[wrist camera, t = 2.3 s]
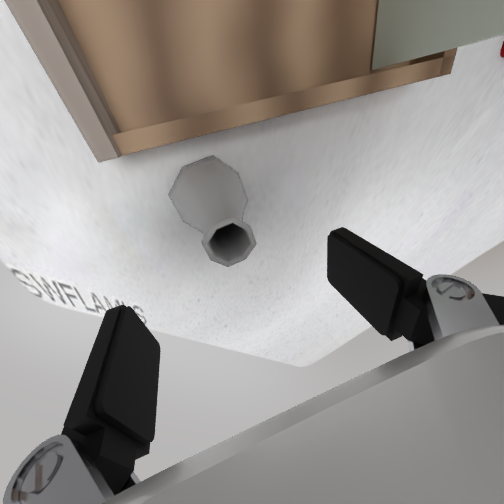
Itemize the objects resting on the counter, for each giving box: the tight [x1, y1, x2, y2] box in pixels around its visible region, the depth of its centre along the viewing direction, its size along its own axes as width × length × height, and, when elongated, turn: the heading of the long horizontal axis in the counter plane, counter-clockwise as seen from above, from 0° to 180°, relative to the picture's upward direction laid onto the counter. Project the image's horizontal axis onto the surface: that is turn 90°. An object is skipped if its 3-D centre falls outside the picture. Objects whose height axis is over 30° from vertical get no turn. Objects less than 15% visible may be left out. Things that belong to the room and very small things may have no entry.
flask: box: [168, 155, 256, 267], centre depth 17 cm, size 7×7×10 cm
